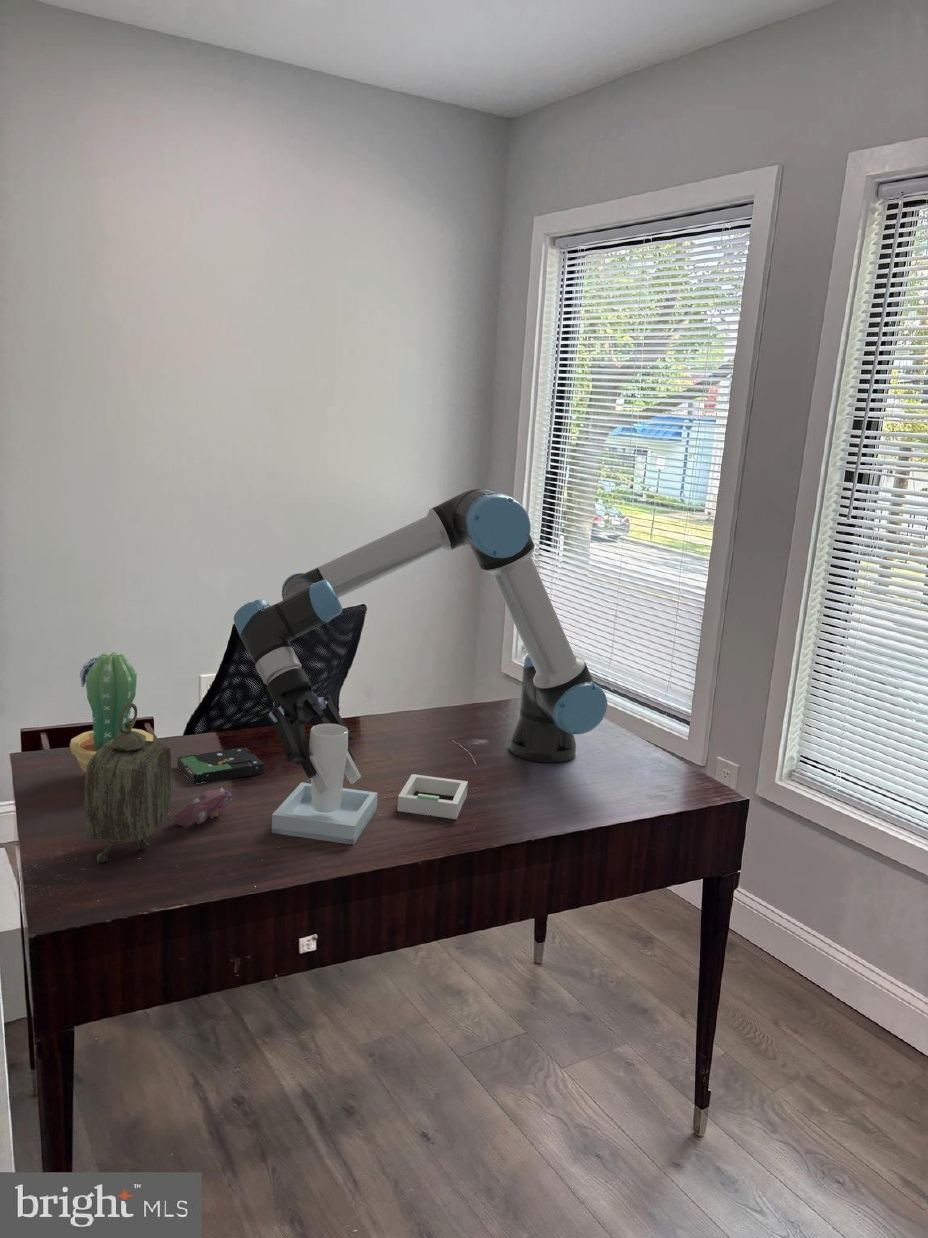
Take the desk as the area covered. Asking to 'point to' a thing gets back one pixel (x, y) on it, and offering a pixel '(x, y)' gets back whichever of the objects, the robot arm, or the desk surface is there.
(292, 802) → the tray
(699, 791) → the desk surface
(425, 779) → the frame
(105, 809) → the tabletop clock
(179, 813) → the pink toy figurine
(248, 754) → the disk drive
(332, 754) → the drinking glass
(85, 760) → the potted cactus
